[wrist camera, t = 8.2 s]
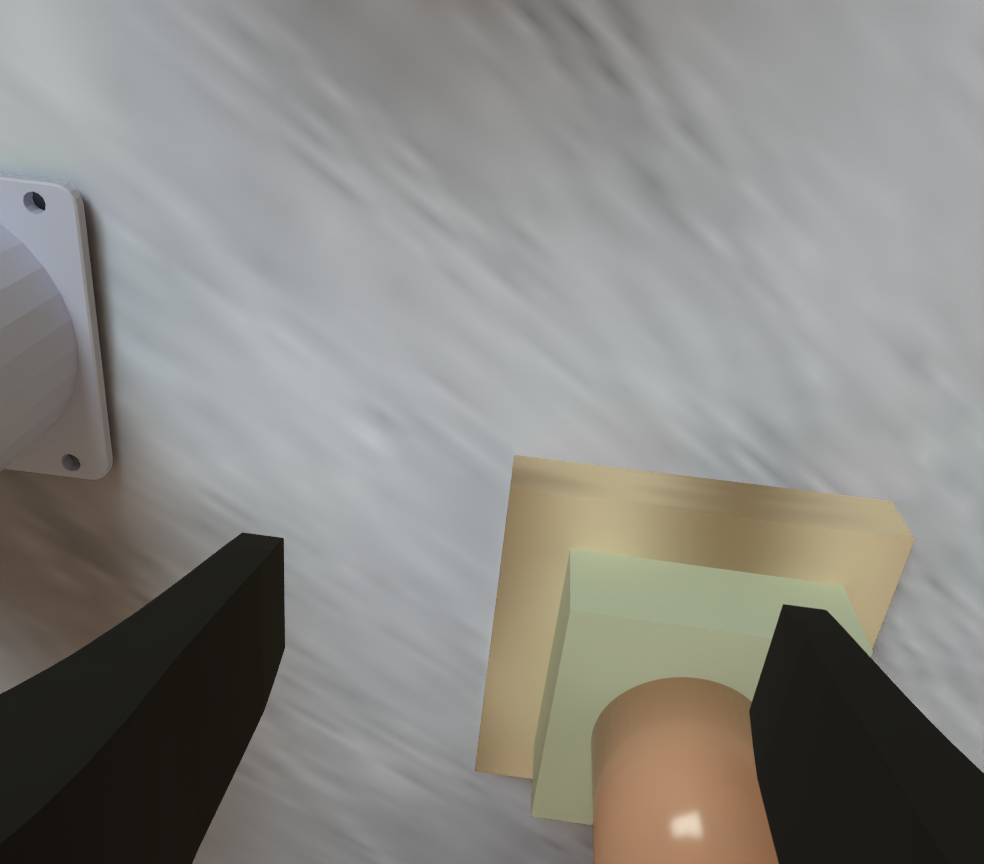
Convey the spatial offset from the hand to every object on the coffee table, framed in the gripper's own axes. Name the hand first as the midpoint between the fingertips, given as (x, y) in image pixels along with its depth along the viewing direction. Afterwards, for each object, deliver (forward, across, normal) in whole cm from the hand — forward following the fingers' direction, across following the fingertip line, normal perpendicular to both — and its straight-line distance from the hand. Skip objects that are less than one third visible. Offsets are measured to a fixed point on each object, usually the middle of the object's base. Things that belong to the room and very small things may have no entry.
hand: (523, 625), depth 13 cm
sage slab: (+9, -5, +8) cm, 13 cm away
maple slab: (+11, -5, +8) cm, 15 cm away
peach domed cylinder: (+6, -5, +8) cm, 11 cm away
